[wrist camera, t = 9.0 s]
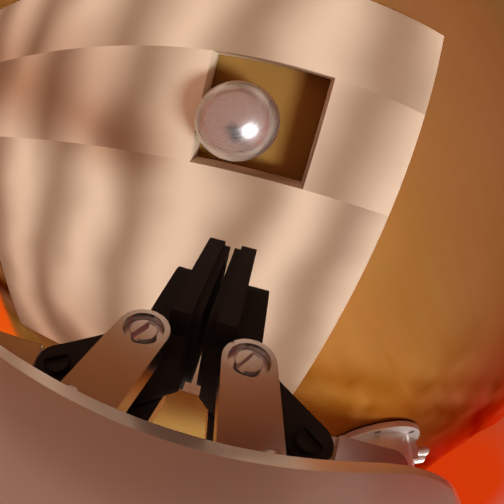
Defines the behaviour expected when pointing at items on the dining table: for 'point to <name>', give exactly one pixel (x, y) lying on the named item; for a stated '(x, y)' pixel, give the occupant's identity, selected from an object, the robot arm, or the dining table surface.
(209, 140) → the steel ball
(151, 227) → the maple board
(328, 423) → the dining table surface
